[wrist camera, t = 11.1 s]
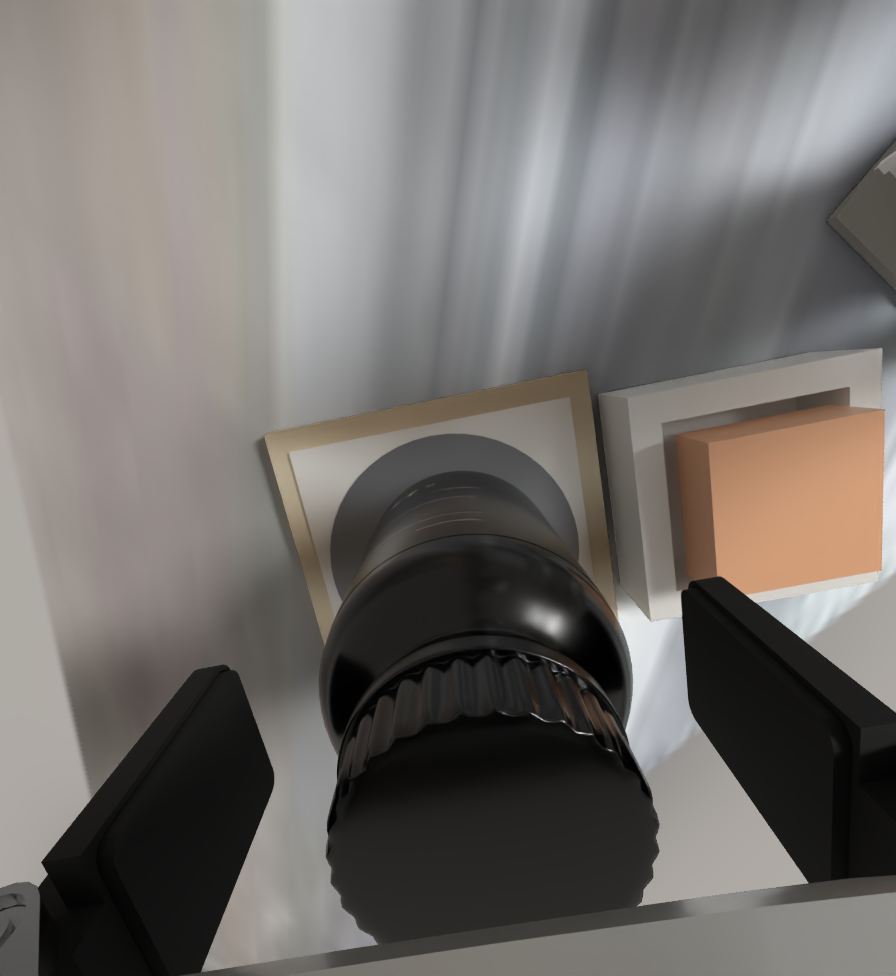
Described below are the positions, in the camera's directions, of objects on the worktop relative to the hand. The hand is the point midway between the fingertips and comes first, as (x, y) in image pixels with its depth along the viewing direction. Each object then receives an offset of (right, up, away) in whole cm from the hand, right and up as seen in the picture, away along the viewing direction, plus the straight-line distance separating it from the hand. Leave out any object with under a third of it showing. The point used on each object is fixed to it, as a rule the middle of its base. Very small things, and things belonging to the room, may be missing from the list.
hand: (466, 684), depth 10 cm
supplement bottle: (0, +2, +9) cm, 9 cm away
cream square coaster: (0, +2, +10) cm, 10 cm away
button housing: (+10, +5, +9) cm, 14 cm away
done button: (+10, +4, +6) cm, 12 cm away
